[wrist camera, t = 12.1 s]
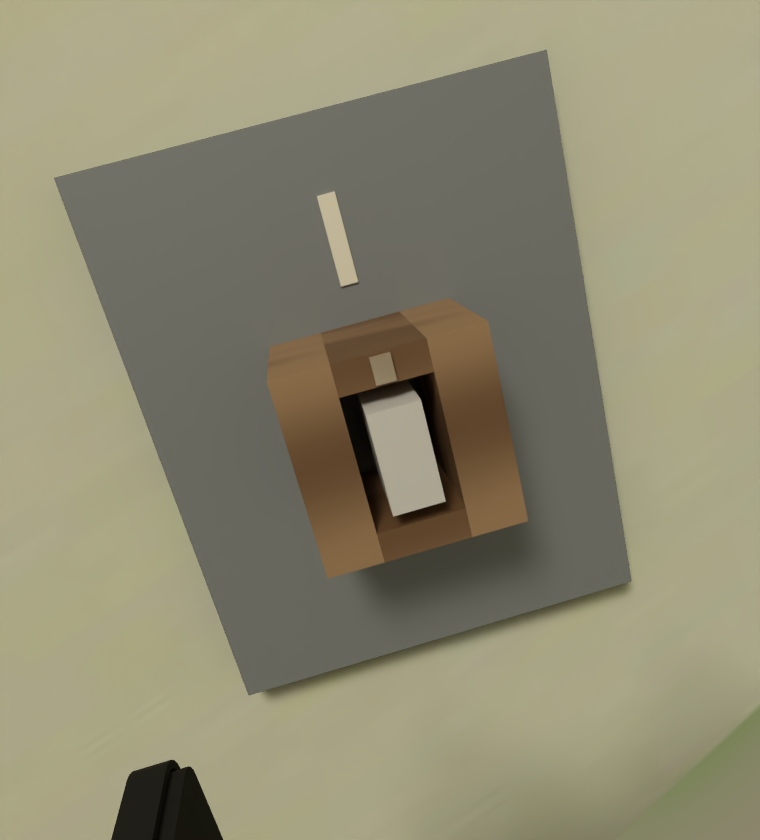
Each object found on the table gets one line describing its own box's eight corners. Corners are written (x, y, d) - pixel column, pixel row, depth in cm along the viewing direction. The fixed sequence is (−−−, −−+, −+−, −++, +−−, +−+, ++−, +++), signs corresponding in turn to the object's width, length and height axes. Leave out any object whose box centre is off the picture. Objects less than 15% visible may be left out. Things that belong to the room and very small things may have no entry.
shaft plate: (615, 563, 31) (706, 664, 24) (250, 671, 30) (241, 805, 23) (531, 58, 25) (623, 6, 18) (67, 179, 24) (-16, 172, 17)
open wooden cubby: (485, 464, 27) (530, 523, 22) (319, 511, 27) (327, 582, 22) (449, 297, 25) (489, 322, 20) (269, 346, 25) (266, 383, 20)
